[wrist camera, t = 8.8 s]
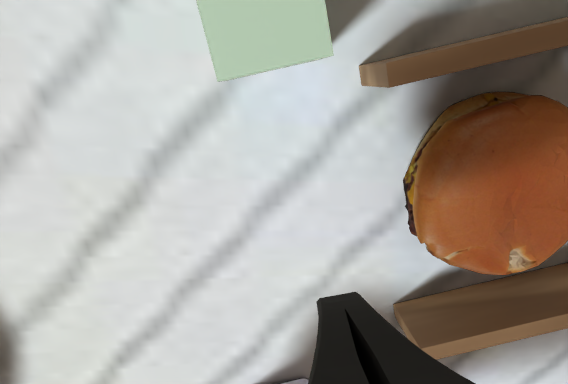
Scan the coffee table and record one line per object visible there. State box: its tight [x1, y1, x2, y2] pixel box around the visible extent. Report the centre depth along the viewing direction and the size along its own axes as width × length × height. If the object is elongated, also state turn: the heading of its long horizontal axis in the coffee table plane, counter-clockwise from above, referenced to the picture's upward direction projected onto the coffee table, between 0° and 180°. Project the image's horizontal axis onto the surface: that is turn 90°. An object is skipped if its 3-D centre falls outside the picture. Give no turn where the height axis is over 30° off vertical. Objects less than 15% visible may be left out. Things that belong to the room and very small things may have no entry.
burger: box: [403, 92, 568, 275], centre depth 19 cm, size 10×9×5 cm
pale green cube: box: [196, 0, 334, 82], centre depth 15 cm, size 4×4×5 cm
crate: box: [359, 17, 568, 360], centre depth 19 cm, size 16×14×4 cm
